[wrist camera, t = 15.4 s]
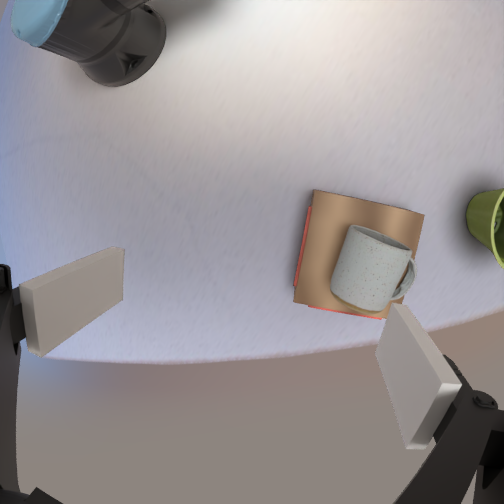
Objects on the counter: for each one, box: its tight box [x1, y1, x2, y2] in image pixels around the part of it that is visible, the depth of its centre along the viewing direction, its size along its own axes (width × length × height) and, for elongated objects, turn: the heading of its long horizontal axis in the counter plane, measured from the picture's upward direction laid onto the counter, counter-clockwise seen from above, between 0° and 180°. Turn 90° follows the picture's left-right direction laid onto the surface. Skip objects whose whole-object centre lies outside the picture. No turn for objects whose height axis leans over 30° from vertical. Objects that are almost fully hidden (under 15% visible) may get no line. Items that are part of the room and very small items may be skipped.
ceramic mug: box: [330, 225, 417, 314], centre depth 34 cm, size 11×8×8 cm
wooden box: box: [293, 190, 424, 320], centre depth 41 cm, size 14×14×6 cm
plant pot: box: [466, 188, 504, 269], centre depth 34 cm, size 12×12×11 cm
